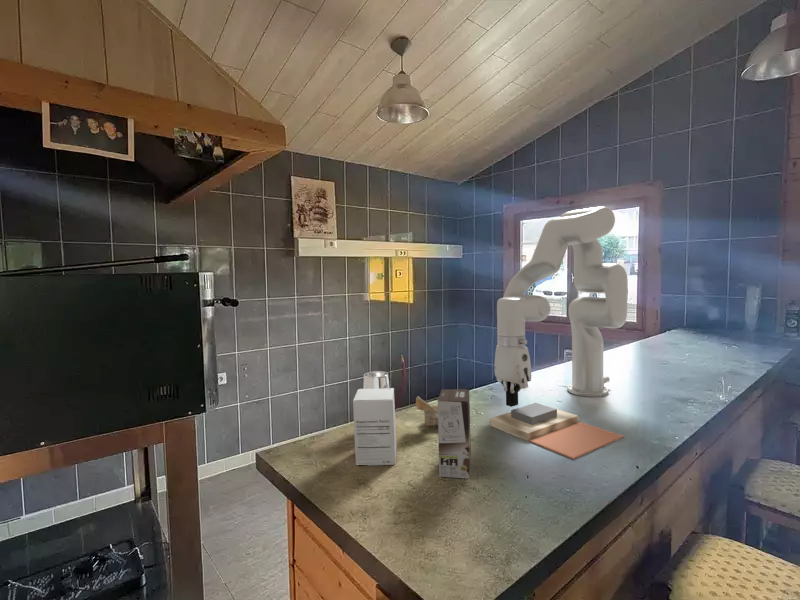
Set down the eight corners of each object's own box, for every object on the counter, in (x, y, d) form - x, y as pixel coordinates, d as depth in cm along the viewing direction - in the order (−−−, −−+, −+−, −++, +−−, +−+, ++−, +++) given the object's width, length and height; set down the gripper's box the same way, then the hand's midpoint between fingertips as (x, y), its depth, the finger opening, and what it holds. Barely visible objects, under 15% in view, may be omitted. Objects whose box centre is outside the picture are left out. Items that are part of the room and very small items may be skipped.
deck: (538, 410, 125) (538, 403, 125) (578, 422, 114) (578, 415, 114) (489, 425, 114) (489, 418, 114) (528, 441, 103) (528, 433, 103)
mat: (579, 423, 114) (579, 421, 114) (623, 437, 104) (623, 435, 104) (529, 441, 103) (529, 440, 103) (573, 459, 93) (573, 457, 93)
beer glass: (379, 421, 120) (377, 369, 119) (396, 427, 115) (394, 373, 114) (359, 428, 115) (357, 374, 114) (376, 435, 110) (374, 378, 109)
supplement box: (359, 449, 102) (357, 388, 101) (396, 448, 102) (394, 387, 101) (354, 466, 93) (351, 399, 92) (395, 465, 93) (392, 398, 92)
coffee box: (470, 479, 86) (468, 401, 85) (438, 477, 87) (436, 400, 86) (471, 459, 95) (470, 388, 93) (443, 457, 96) (441, 387, 95)
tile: (535, 409, 120) (535, 402, 119) (556, 416, 114) (556, 409, 114) (511, 417, 114) (511, 410, 114) (532, 424, 108) (531, 417, 108)
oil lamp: (406, 430, 113) (405, 393, 113) (452, 409, 129) (451, 376, 128) (432, 438, 107) (431, 399, 107) (477, 414, 123) (476, 381, 123)
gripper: (541, 343, 115) (542, 409, 116) (501, 336, 127) (502, 396, 129) (522, 346, 111) (523, 415, 112) (482, 339, 123) (483, 401, 125)
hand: (512, 405), depth 120 cm, fingers closed
